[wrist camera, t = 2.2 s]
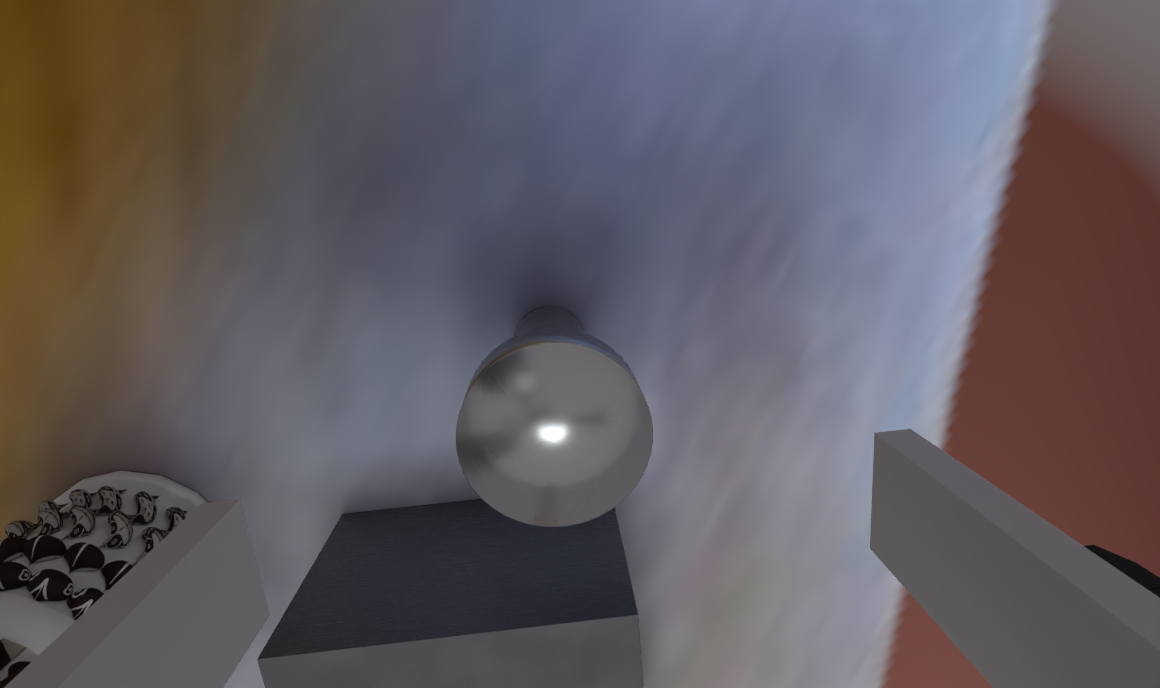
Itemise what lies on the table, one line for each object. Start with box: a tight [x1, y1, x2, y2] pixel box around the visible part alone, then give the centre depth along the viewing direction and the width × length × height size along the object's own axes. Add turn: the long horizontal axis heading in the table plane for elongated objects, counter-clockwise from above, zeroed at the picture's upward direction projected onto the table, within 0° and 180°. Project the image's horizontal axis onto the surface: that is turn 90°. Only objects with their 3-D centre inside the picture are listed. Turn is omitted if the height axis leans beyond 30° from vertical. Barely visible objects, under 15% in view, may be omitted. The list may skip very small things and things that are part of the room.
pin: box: [456, 306, 653, 527], centre depth 21 cm, size 5×5×10 cm
